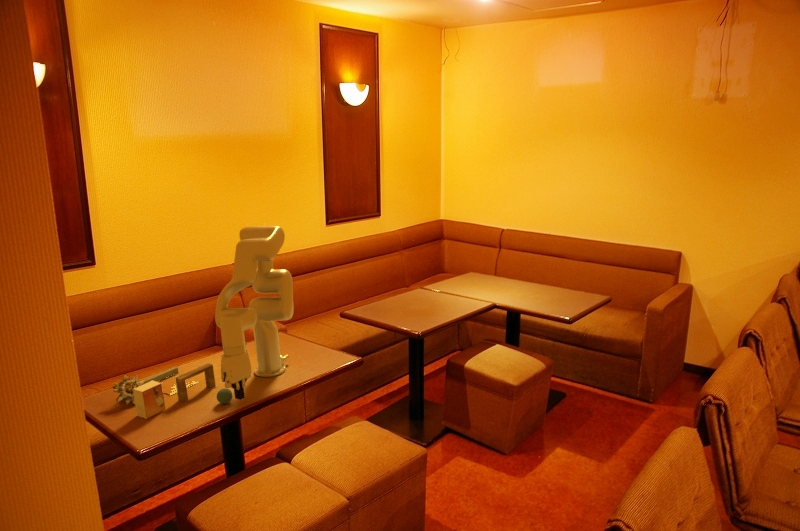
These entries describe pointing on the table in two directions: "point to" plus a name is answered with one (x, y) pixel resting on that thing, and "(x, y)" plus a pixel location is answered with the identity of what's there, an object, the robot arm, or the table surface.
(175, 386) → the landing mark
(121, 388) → the passion flower
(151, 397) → the small box
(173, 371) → the grey square bar
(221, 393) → the ball
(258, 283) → the robot arm
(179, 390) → the bridge
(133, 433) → the table surface
